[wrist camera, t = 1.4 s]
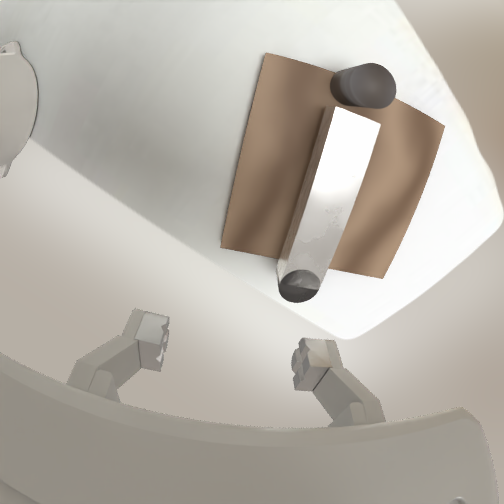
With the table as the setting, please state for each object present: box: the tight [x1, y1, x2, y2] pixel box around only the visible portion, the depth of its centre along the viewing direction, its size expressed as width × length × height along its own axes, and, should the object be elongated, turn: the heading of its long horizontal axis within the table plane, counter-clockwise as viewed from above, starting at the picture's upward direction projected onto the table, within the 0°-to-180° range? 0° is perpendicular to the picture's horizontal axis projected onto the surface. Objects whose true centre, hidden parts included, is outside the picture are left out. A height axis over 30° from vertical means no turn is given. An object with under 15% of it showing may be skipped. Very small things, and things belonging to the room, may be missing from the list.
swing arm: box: [276, 106, 381, 303], centre depth 24 cm, size 18×4×3 cm, turn 167°
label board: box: [220, 53, 445, 279], centre depth 24 cm, size 20×21×8 cm
